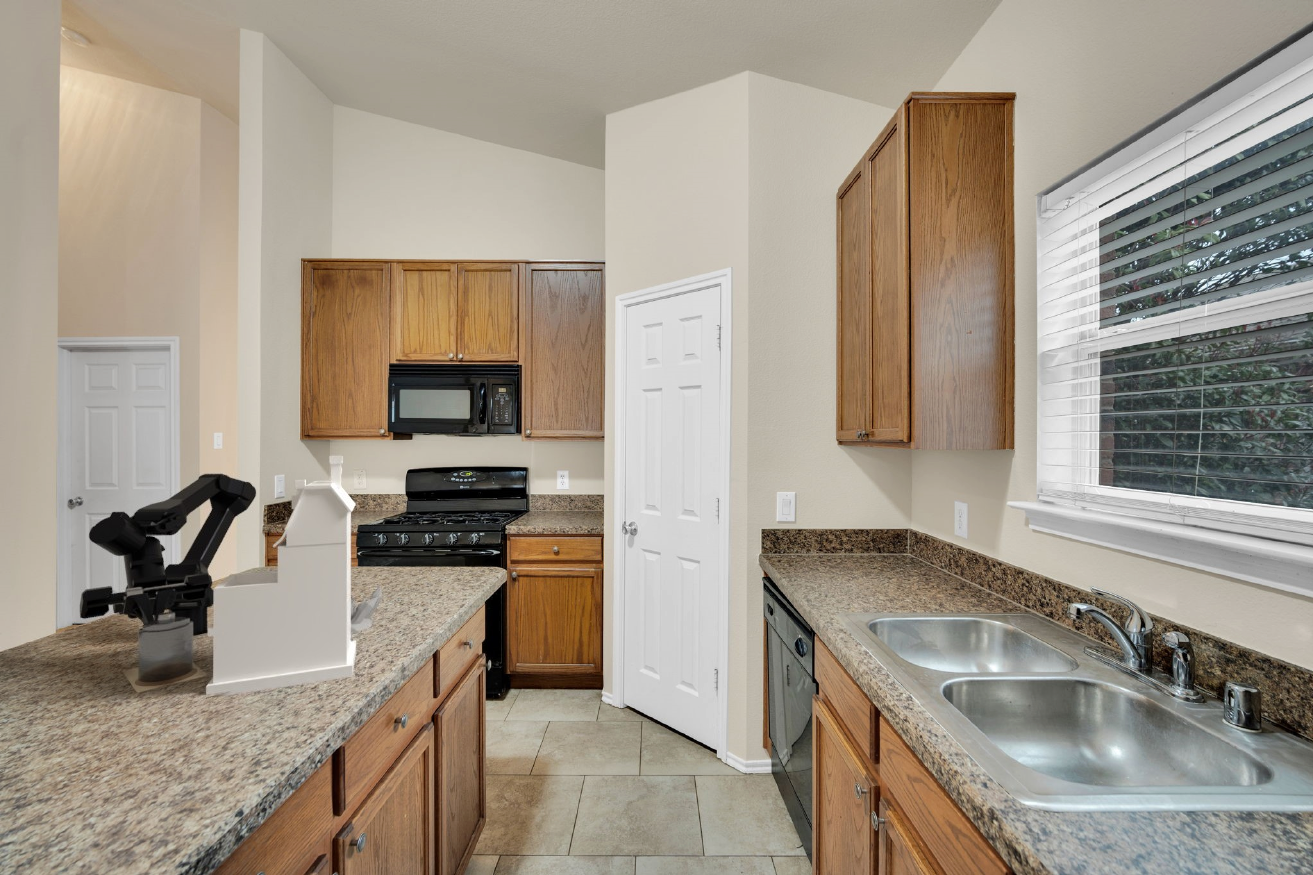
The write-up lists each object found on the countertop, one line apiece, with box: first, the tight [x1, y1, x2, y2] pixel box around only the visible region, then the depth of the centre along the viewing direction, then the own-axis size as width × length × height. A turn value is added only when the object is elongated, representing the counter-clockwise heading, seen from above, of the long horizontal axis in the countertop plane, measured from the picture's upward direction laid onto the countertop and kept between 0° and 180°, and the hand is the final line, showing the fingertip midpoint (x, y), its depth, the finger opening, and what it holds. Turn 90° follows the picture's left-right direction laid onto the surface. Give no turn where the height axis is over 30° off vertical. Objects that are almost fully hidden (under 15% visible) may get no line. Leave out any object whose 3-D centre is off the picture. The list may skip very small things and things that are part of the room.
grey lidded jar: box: [137, 611, 194, 682], centre depth 107 cm, size 8×8×11 cm
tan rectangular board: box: [121, 662, 208, 693], centre depth 107 cm, size 10×14×1 cm, turn 50°
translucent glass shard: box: [351, 584, 383, 633], centre depth 136 cm, size 10×13×15 cm
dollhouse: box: [205, 455, 357, 699], centre depth 109 cm, size 22×15×40 cm
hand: (155, 632), depth 109 cm, fingers closed
